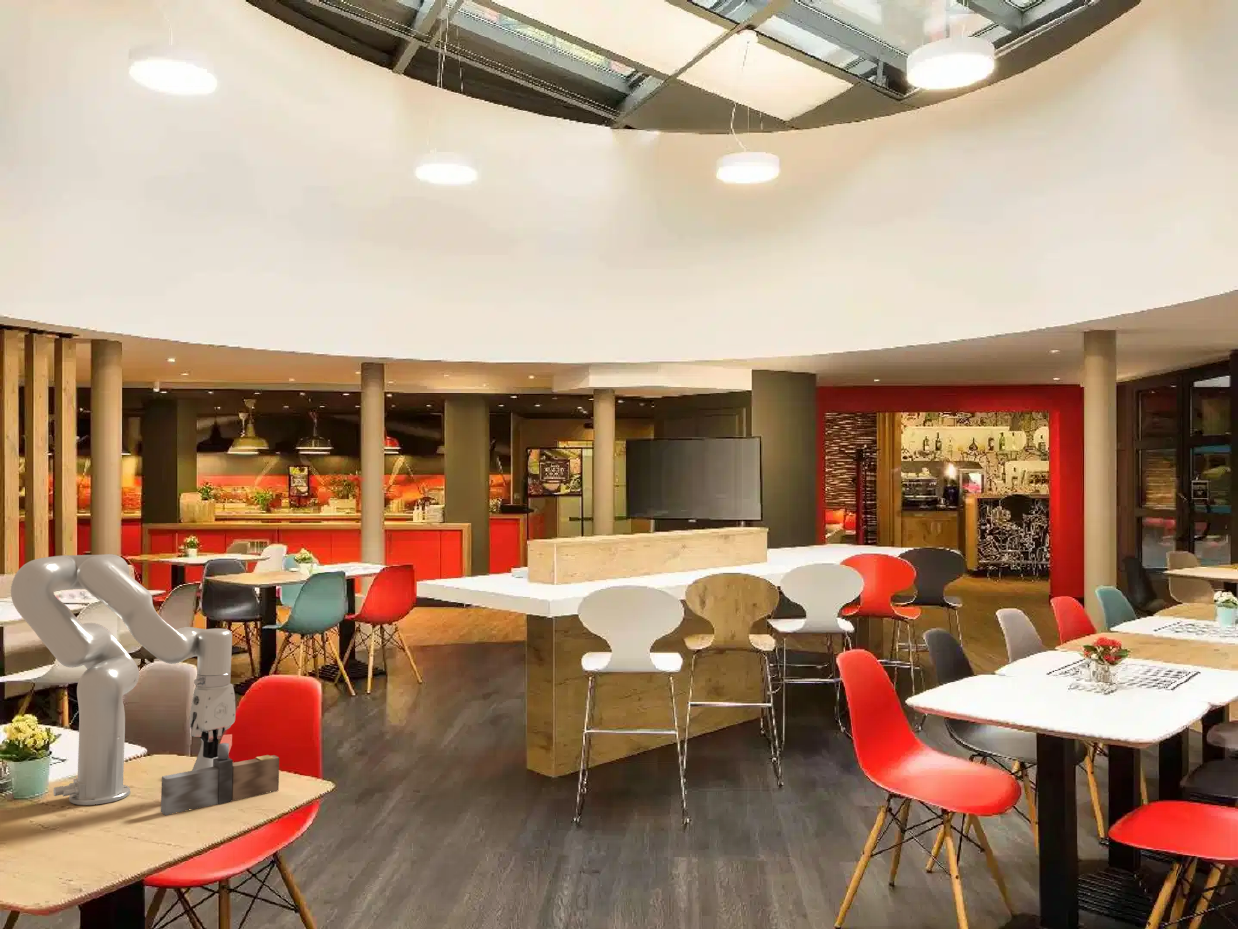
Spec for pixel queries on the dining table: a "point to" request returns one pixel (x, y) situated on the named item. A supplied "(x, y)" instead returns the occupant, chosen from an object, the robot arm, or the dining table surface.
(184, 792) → the two-tone wood plank
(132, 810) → the dining table surface
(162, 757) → the dining table surface
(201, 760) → the flask
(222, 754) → the swing bar
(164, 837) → the dining table surface
